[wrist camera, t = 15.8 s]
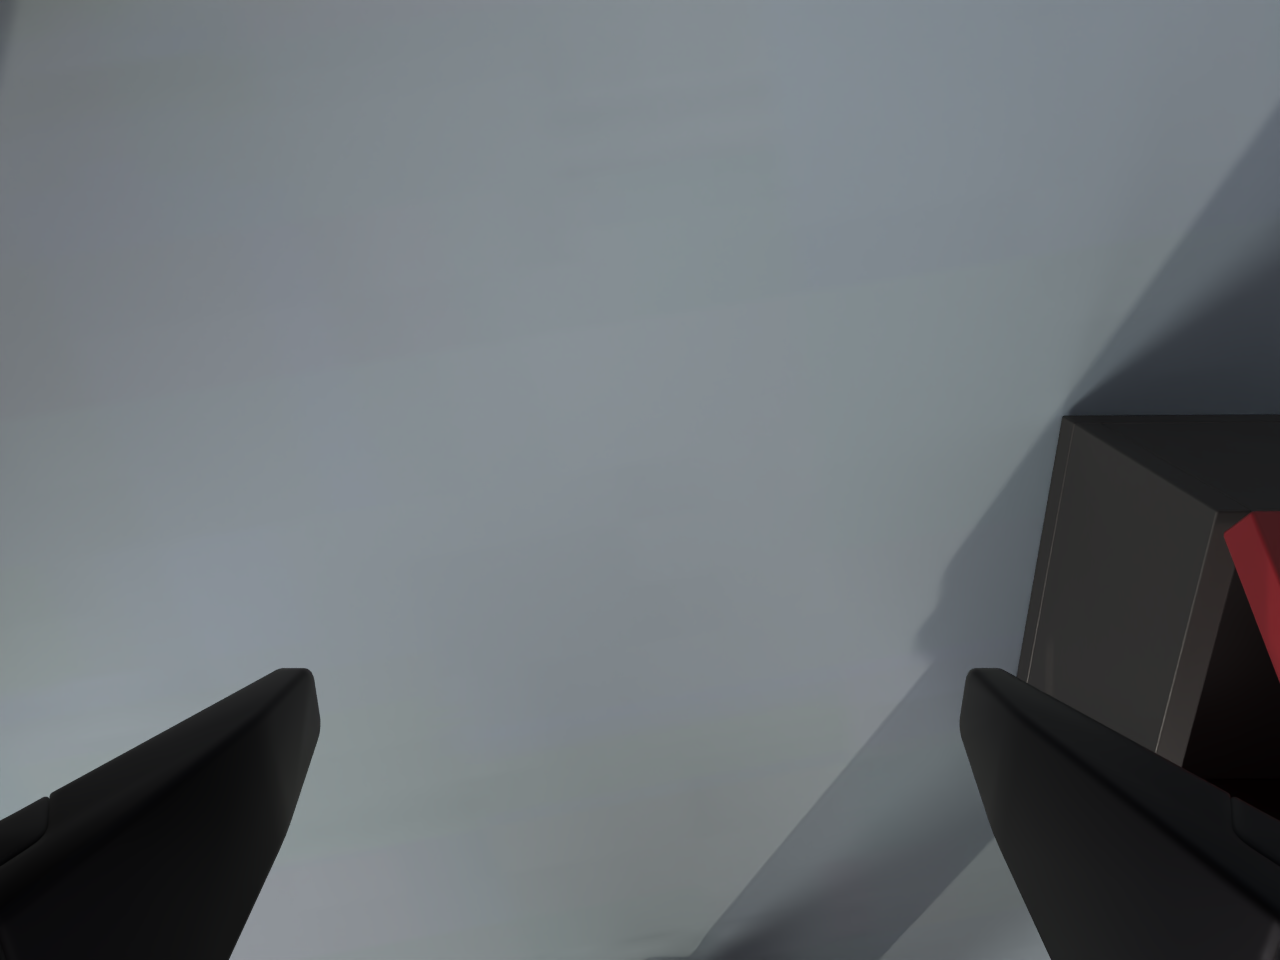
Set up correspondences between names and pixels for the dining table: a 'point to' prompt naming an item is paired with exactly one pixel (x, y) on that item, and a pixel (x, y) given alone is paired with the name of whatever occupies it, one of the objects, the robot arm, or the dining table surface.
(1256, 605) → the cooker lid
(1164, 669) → the black box
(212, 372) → the dining table surface
